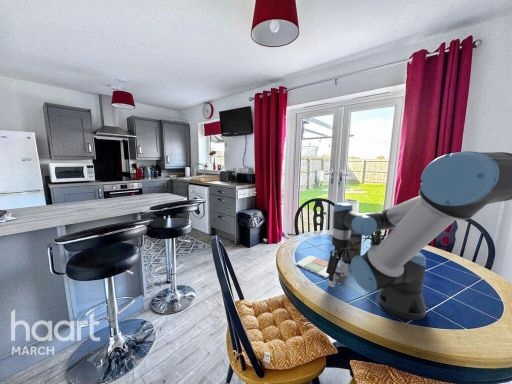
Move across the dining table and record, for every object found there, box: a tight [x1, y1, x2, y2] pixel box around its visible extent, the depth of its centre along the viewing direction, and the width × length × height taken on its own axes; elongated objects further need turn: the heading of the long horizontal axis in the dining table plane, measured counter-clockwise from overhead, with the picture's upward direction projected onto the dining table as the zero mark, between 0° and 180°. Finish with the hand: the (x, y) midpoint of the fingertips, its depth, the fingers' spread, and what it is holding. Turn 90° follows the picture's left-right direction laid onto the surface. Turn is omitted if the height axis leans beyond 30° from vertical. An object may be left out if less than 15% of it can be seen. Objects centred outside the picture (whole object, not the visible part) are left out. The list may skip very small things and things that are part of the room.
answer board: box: [295, 254, 329, 279], centre depth 110 cm, size 18×14×1 cm
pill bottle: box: [335, 262, 345, 285], centre depth 96 cm, size 5×5×8 cm
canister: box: [349, 230, 363, 262], centre depth 116 cm, size 10×10×18 cm
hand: (338, 281), depth 97 cm, fingers open, 12 cm apart
